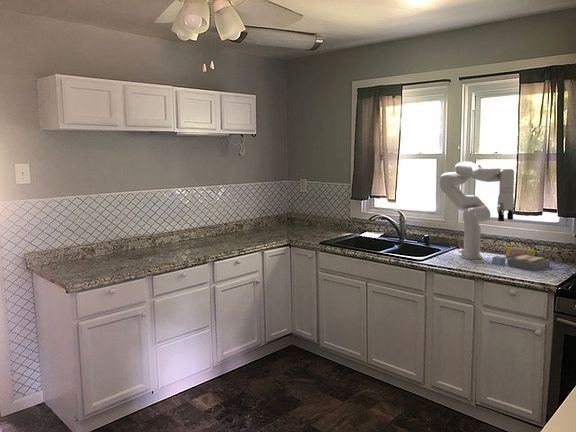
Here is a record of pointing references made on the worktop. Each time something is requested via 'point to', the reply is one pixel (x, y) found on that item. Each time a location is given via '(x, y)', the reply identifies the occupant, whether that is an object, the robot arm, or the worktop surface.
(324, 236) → the worktop surface
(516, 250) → the candy box
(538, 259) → the maple block
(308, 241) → the worktop surface
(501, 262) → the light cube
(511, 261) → the tote
